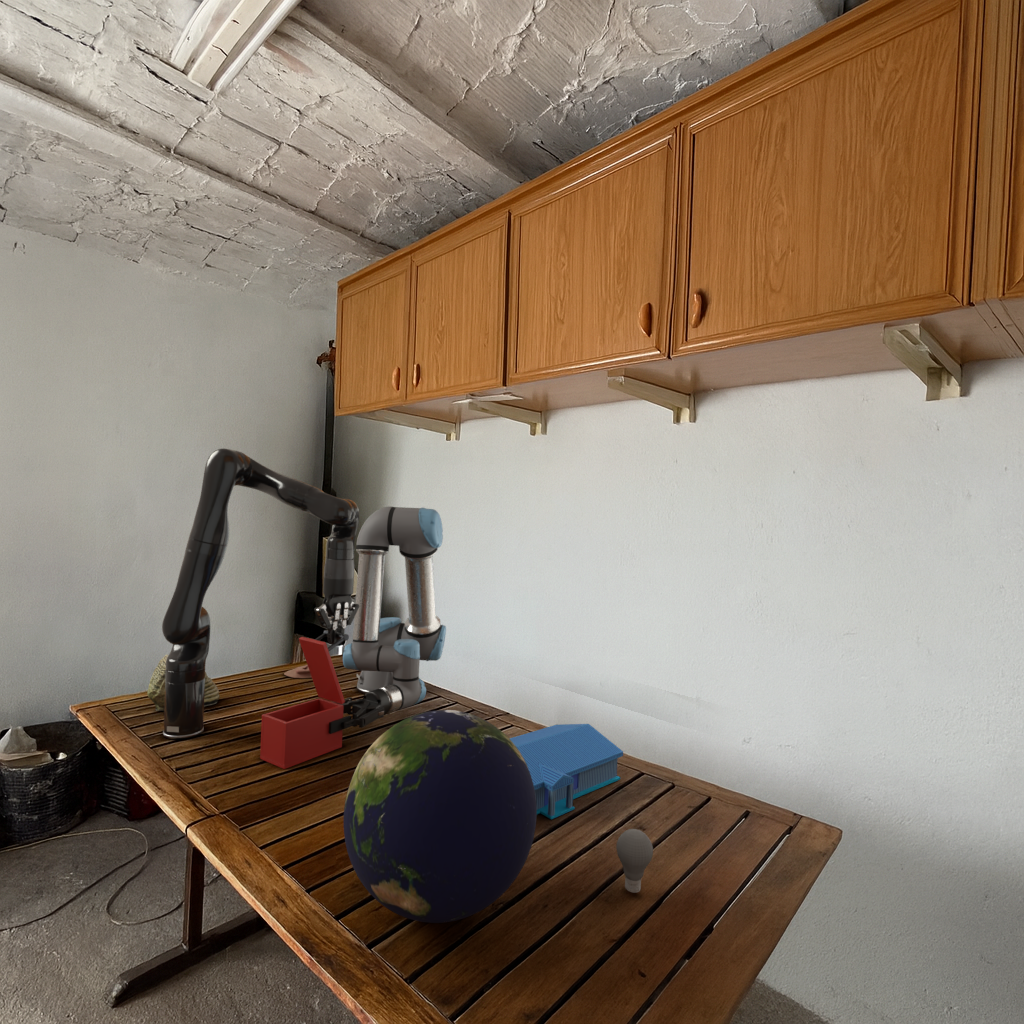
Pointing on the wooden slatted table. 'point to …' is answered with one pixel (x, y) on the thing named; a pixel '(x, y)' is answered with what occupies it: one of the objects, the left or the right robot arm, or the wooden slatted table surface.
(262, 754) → the chest
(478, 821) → the globe
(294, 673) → the anatomical model
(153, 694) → the fossil
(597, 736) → the model building
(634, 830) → the light bulb
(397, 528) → the right robot arm
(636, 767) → the wooden slatted table surface
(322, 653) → the lid
